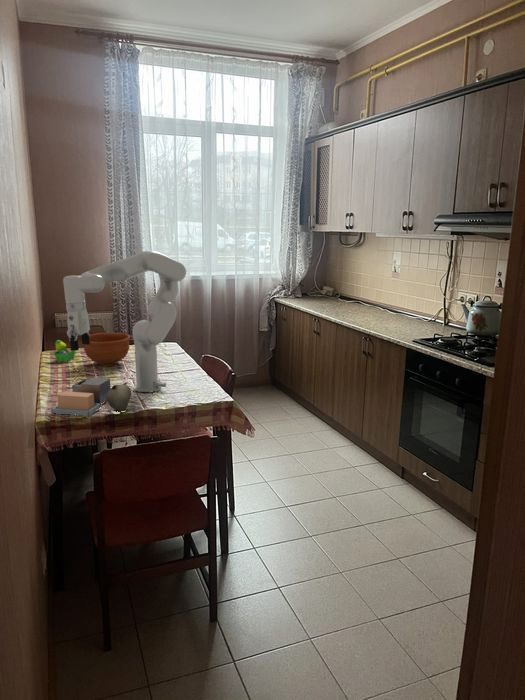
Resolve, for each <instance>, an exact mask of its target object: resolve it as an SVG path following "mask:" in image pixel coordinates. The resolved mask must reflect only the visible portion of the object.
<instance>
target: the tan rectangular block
mask: <svg viewBox="0 0 525 700" xmlns="http://www.w3.org/2000/svg"><path fill="white" fill-rule="evenodd" d="M56 398H57V401H56V402H57V405H58V409H69V410H82V411H89V410H90V409H92V408H93V407H95V405H94V393H82V392H72V391H66V390H63V391H61V392H60V393H57V395H56Z"/></svg>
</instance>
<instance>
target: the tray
mask: <svg viewBox="0 0 525 700" xmlns="http://www.w3.org/2000/svg"><path fill="white" fill-rule="evenodd" d="M94 405H95V407H93V408H92V409H90V410H89V411H82V410H69V409H58V404H57V405H56V406H54V407H52V408H51V409H50V411H51V412H50V413H56V414H55V415H61V414H71V415H70V416H74V415H75V414H76V415H85V416H84V417H87V416H89V417H91V416H92V415H93V414H92V413H94V412H95V411H96V410H97V409H99V408H100V407H101V408H102V405H101V404H99V403H94ZM95 413H96V412H95ZM95 413H94V414H95ZM91 414H92V415H91ZM90 415H91V416H90Z"/></svg>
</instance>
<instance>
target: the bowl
mask: <svg viewBox="0 0 525 700" xmlns="http://www.w3.org/2000/svg"><path fill="white" fill-rule="evenodd" d="M130 339H131V335H130V334H128V333H125V332H124V333H123V332H99V333H93V334H89V340H90V344H89V345H84V348H83V350H84V353H85V355H86V356H87V357H88V359H90V360H91V361H92V362H95V363H97V364H100V366H103V367H107V366H108V367H109V366H115V365H116V363H118V362H120V361H121V360H122V361H123V359H125V358H126V357H127V355H128V353H129V350H130Z"/></svg>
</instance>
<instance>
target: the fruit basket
mask: <svg viewBox="0 0 525 700" xmlns="http://www.w3.org/2000/svg"><path fill="white" fill-rule="evenodd" d="M55 349H56V351H55V352H53V355H54V357H55V359H56V360H55V361H56V362H57V363H67V362H70V361H72V360H74V359H75V354H76V351H77V350H71V348H67V344H66V343H65V342H63V341H62V340H60V339H57V340H56V341H55ZM73 358H74V359H73ZM71 359H72V360H71Z"/></svg>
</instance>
